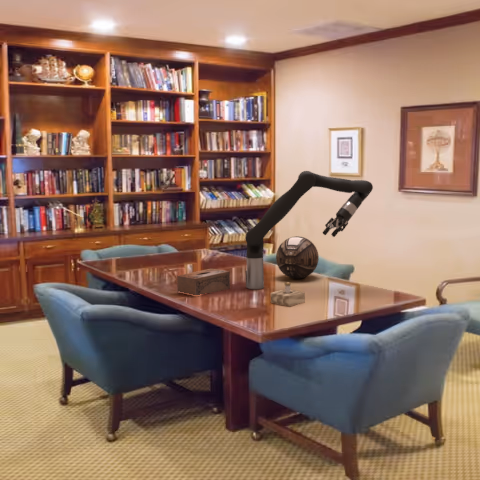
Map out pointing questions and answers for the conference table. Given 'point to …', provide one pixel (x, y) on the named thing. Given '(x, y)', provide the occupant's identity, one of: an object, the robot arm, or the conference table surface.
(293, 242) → the sphere
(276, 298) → the maple hitch block
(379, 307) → the conference table surface
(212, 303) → the conference table surface
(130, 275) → the conference table surface
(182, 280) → the tissue box cover
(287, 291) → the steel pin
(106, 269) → the conference table surface
